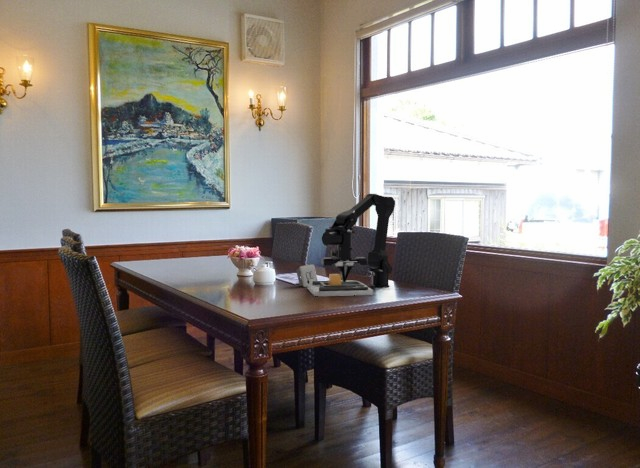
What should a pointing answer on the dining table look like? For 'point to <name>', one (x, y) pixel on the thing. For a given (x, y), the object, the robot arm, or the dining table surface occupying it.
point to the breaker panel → (339, 288)
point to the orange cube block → (334, 279)
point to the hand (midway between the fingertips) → (344, 281)
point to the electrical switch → (306, 275)
